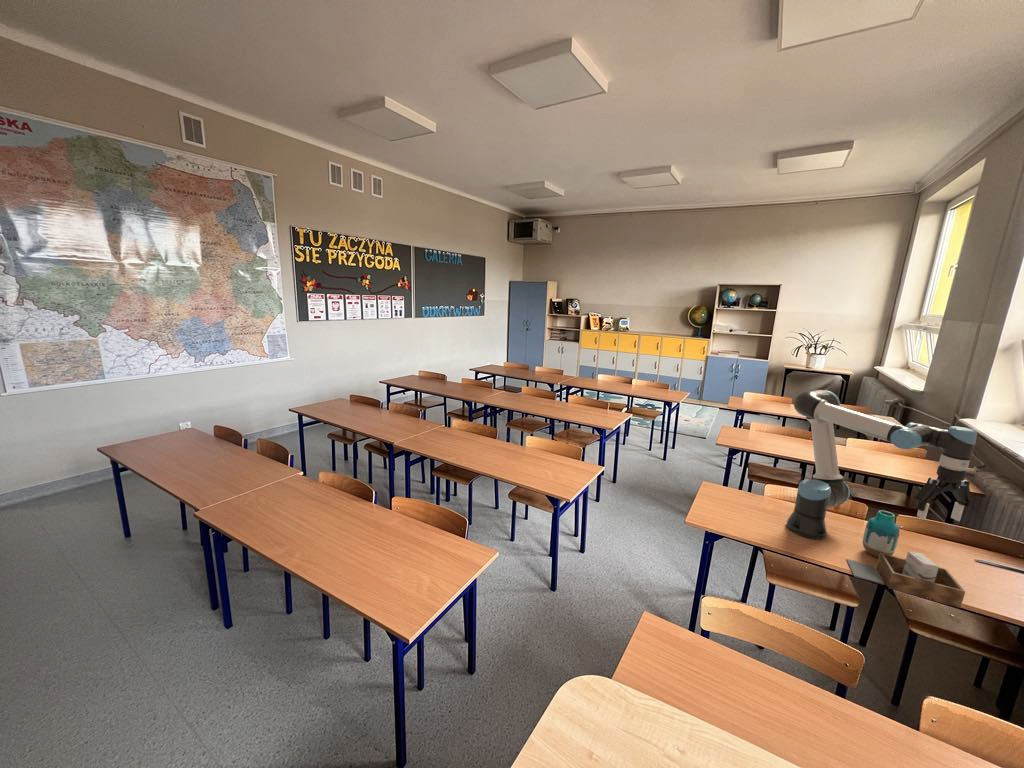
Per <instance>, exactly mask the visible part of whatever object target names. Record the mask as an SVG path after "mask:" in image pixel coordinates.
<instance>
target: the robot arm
mask: <svg viewBox="0 0 1024 768" xmlns="http://www.w3.org/2000/svg"><path fill="white" fill-rule="evenodd" d="M840 405H841V401H840V398H839V397H838V395H837V394H835V393H834V392H832V391H829V390H825V389H817V390H807V391H803V392H800V393H799V394H797V395H796V396H795V398H794V400H793V407H794V410H795V411H796V412H797V413H798V414H799V415H800V416H802V417H805V418H806V420H807V421H808V422H809V423H810V428H811V437H812V446H813V456H814V466H815V473H814V474H813V475H812V479H811V478H809V479H808V478H807V479H803V480H801V481H800V482H799V485H798V487H797V494H796V498H795V504H794V508H793V511H792V513H791V514H790V516H789V517H788V519H787V520H786V527H787V529H789V530H790V531H791V532H792V533H794V534H796V535H798V536H801V537H804V538H807V539H811V540H823V539H826V537H827V532H828V531H827V527H826V520H825V518H826V514H827V510H828V508H829V509H830V508H832V507H833V508H834V507H836V506H840V505H843V504H844V503H845V502H847V501H848V500H849V498H850V495H851V490H850V487H849V485H848V484H847V483H846V482H845V481H844V478H845V477H844V476H843V475H842V474H840V470H839V463H838V455H837V454H838V453H837V446H836V436H835V428H834V425H838V426H841V427H843V428H845V429H846V428H847V429H849V430H851V431H852V430H853V431H855V432H859V433H862V434H864V435H867V436H870V437H874V438H876V439H880V440H883V441H885V442H888V443H891V444H892V445H893V446H895V447H896V448H897V449H902V450H912V449H916V448H919V447H920V448H921V447H923V446H927V447H933V448H936V449H941V450H942V451H941V455H940V457H939V461H938V463H939V464H938V465H937V469H936V475H937V478H932V477H928V478H927V481H926V482H925V484H924V485H923V487H922V488H921V489H920V490H919V491H918V493H917V494H916V495H915V496H914V500H917V501H918V505H917V509H918V510H917V513H916V517H917V518H919V519H921V520H923V521H926V518H927V514H928V511H929V507H930V502H931V501H932V500H933V499H934V498H935V497H937V496H938V495H939V494H940V493H944V492H951V493H952V495H953V496H954V498H955V499H956V501H955V502H954V505H953V508H952V512H951V515H950V519H953V520H954V521H956V522H960V521H961V519H962V517H963V513H964V511H965V507H970V505H972V504H973V498H972V494H971V489H970V484H971V482H970V480H967V479H966V477H967V476H966V475H967V473H968V472H967V470H968V469H969V464H970V461H971V458H972V455H973V452H974V450H975V449H974V448H975V446H976V443H977V442H976V441H977V436H978V432H977V431H976V430H974V429H972V428H968V427H964V426H963V427H961V426H959V425H958V426H957V425H954V426H953V425H952V426H949V427H948V429H943V428H940V427H935V426H930V425H925V424H923V423H915V422H908V423H907V424H906V425H900V424H898V423H894V422H891V421H889V420H885V419H882V418H878V417H874V416H872V415H868V414H865V413H862V412H859V411H854V410H852V409H850V408H849V409H847V408H845V407H843V406H840Z"/></svg>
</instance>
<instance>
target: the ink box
mask: <svg viewBox="0 0 1024 768" xmlns="http://www.w3.org/2000/svg"><path fill="white" fill-rule="evenodd" d="M905 559H906V561H905V565H904V569H903V572H902V575H906V576H910V577H914V578H918V579H922V580H926V581H929V582H933V583H934V582H935V579H936V575H937V572H938V568H939V567H940V566H939V565H937V563H935V562H933V560H931V559H930V558H928V556H926V555H925V554H924V553H921V552H914V551H910V550H909V551H907V554H906V558H905Z"/></svg>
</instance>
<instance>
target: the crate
mask: <svg viewBox="0 0 1024 768" xmlns="http://www.w3.org/2000/svg"><path fill="white" fill-rule="evenodd" d="M905 561H906V558H904V557H899V556H895V555H888V554H884V553H880V555H879V557H878V559H877V565H876V569H877V571H878V573H879V575H880V577H881V578H882V580H883V582H884V584H885V585H886V586H887V588H888V589H889V590H892V591H897V592H900V593H903V594H904V593H905V594H907V595H911V596H915V597H918V598H922V599H926V600H929V601H932V602H933V601H934V602H937V603H940V604H944V605H948V606H952V607H955V608H958V609H961V607H962V604H963V600H964V597H965V594H966V591H965V590H964V588H963V587H962V586H961V585H960V583H959V582H958V581H957V579H955V577H954V576H953V575H952V574H951V573H950V571H949V570H948V569H947V568H945V567H940V566H939V568H938V572H937V575H936V579H935V582H934V583H933V582H929V581H926V580H922V579H918V578H914V577H910V576H906V575H902V572H903V569H904V565H905ZM926 597H928V598H926ZM932 599H933V600H932Z"/></svg>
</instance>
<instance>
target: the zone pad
mask: <svg viewBox="0 0 1024 768" xmlns="http://www.w3.org/2000/svg"><path fill="white" fill-rule="evenodd" d="M846 562H847V565H848V567H849V569H850V570H851V573H852V575H853V577H854V578H857V579H862V580H864V581H867V582H872V583H876V584H880V585H885V581H884V579H883V578H882V576H881V574H880V572H879V571H878V569H877V567H876V566H875V565H871V564H868V563H865V562H862V561H855V560H852V559H848V558H846Z"/></svg>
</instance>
